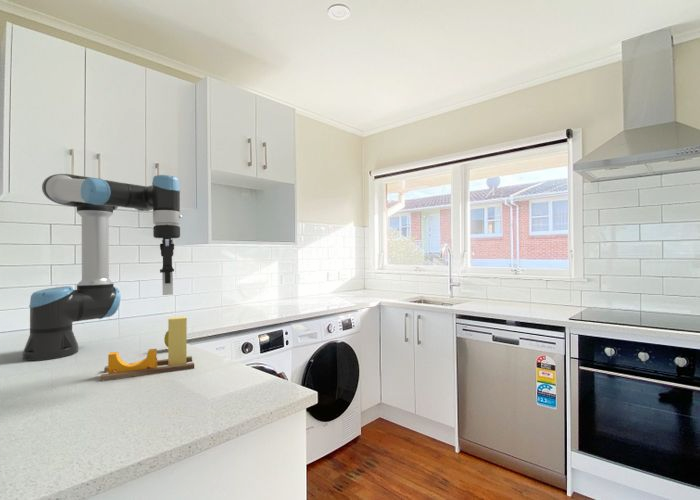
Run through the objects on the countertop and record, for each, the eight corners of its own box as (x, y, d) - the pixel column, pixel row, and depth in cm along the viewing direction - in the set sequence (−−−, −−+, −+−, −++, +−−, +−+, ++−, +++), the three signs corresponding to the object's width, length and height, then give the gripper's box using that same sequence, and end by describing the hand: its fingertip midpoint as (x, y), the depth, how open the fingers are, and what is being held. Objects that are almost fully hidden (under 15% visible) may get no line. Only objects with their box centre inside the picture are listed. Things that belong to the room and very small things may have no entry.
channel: (105, 370, 111) (105, 366, 111) (191, 359, 122) (191, 356, 122) (100, 380, 101) (100, 376, 101) (194, 368, 113) (194, 364, 113)
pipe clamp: (157, 368, 114) (157, 347, 114) (155, 372, 109) (155, 350, 110) (111, 372, 109) (112, 351, 109) (108, 377, 105) (108, 354, 105)
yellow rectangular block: (168, 365, 116) (168, 317, 116) (185, 363, 118) (185, 316, 118) (168, 368, 112) (168, 319, 113) (186, 366, 115) (186, 318, 115)
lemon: (172, 352, 132) (172, 329, 132) (160, 351, 134) (160, 328, 134) (184, 348, 137) (184, 326, 137) (172, 347, 139) (172, 326, 139)
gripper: (181, 221, 106) (182, 295, 105) (178, 229, 128) (179, 290, 127) (151, 220, 102) (152, 296, 102) (154, 228, 125) (155, 291, 124)
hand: (167, 293), depth 115 cm, fingers open, 13 cm apart
